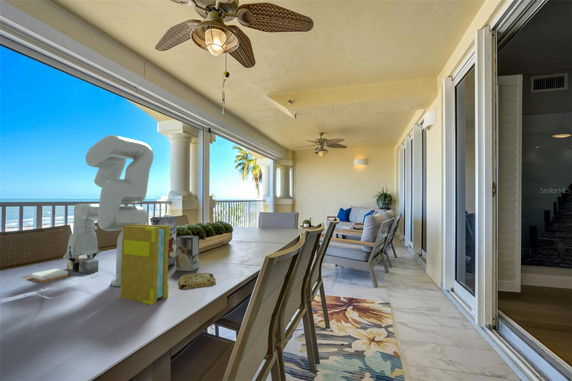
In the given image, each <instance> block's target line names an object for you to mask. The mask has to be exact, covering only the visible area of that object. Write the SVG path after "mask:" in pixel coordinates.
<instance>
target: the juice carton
mask: <svg viewBox="0 0 572 381" xmlns="http://www.w3.org/2000/svg"><path fill="white" fill-rule="evenodd" d="M177 218H178V217H177V216H174V215H172V214H170V213H164V216H152V217H151V225H159V226H161V225H163V226H170V239H169V247H168V268H169V267H172V266H176V241H177Z"/></svg>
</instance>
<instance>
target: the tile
mask: <svg viewBox="0 0 572 381" xmlns="http://www.w3.org/2000/svg"><path fill="white" fill-rule="evenodd" d="M30 275H31V279H34V280H37V281H40V282H45V281H49V280H54V279H58V278H62V277H67V276H68V275H69V271H67V270H63V269H59V268H53V269H47V270H42V271H37V272H33V273H30Z"/></svg>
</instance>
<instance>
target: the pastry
mask: <svg viewBox="0 0 572 381" xmlns="http://www.w3.org/2000/svg"><path fill="white" fill-rule="evenodd" d="M216 281H217V280H216V278H215V277H214V274H213V273H209V272H199V273H191V274H183V275H181V276H180V278H178V286H179V287H178V288H179V289H180V290H190V289H199V288H206V287H207V288H208V287H213V286H215V285H216V284H217V283H216Z"/></svg>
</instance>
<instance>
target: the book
mask: <svg viewBox="0 0 572 381" xmlns="http://www.w3.org/2000/svg"><path fill="white" fill-rule="evenodd" d="M169 239H170V226H163V225H161V226H159V225H152V224H146V225H140V224H134V225H123V235H122V264H121V287H120V295H119V296H120V298H121V299H124V300H130V301H136V302H140V303H143V304H146V305H150V306H151V305H152V306H153V305H155V304H156V303H158V299H162V300H165V299H167V298H169V285H170V284H169V282H168V281H169V267H168V247H169Z"/></svg>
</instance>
